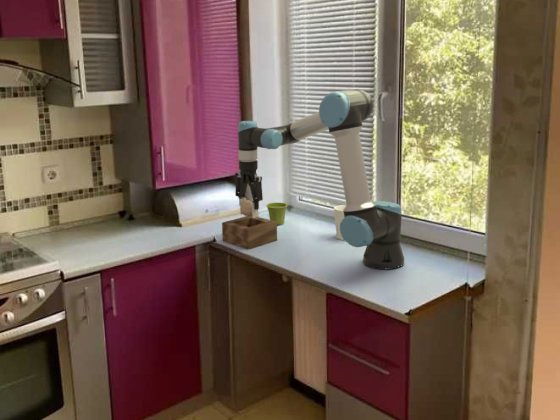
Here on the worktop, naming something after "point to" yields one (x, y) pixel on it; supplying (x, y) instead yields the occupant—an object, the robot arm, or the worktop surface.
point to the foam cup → (339, 219)
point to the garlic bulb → (246, 207)
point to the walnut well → (249, 232)
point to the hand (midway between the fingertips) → (249, 215)
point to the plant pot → (277, 212)
